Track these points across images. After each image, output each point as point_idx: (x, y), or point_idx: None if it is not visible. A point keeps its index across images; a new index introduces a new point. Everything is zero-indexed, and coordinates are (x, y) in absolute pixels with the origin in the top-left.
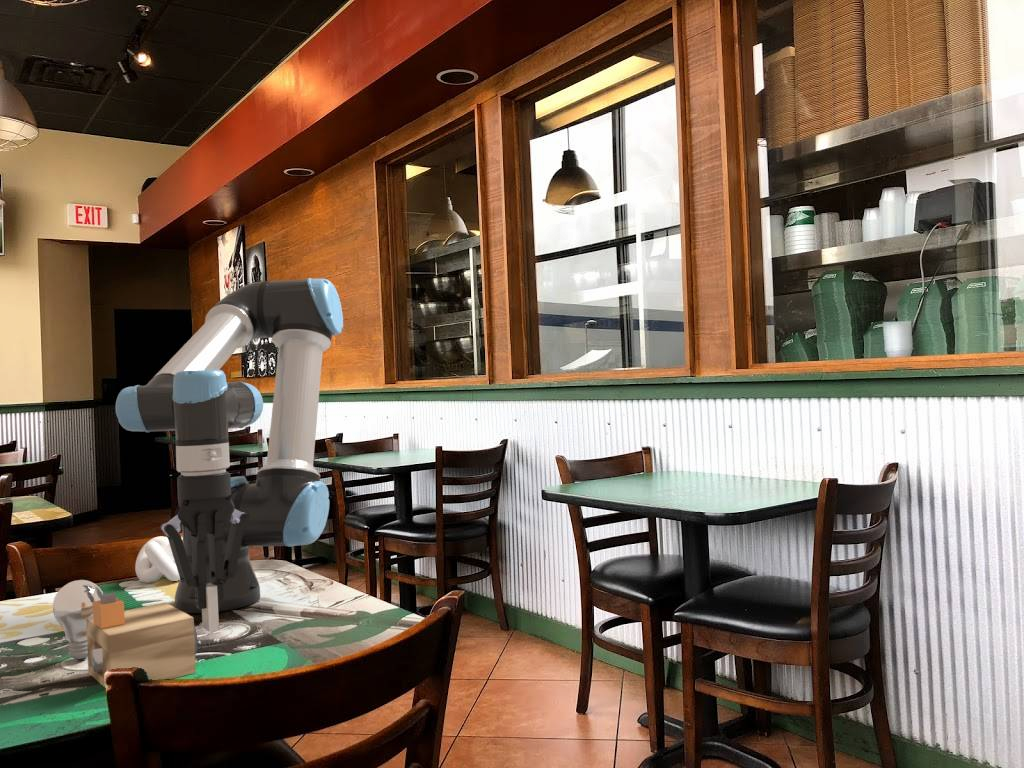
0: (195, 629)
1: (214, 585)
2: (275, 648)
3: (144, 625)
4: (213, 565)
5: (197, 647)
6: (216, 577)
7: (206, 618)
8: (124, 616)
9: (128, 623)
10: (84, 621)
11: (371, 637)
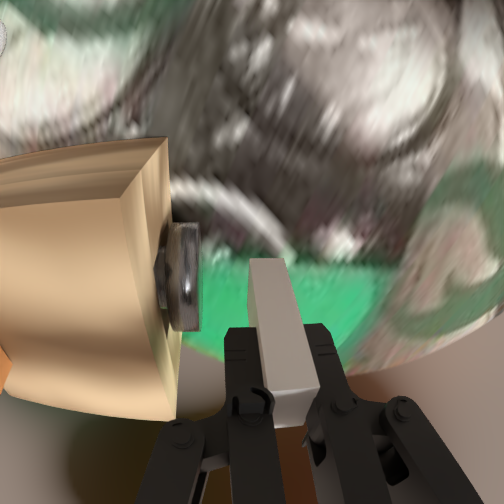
0: (200, 330)
1: (301, 418)
2: (365, 293)
3: (61, 398)
4: (324, 492)
5: (202, 303)
6: (310, 453)
7: (250, 317)
8: (5, 379)
9: (19, 362)
10: None
11: (453, 333)
